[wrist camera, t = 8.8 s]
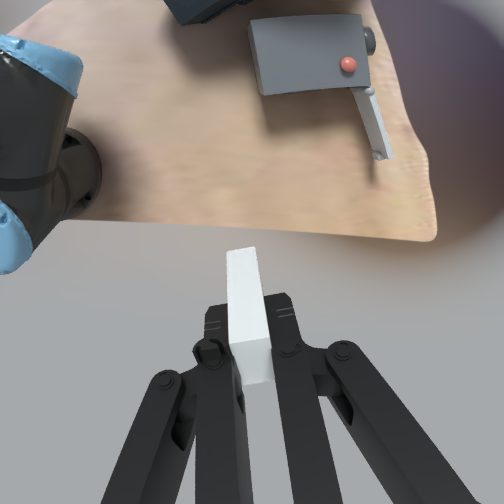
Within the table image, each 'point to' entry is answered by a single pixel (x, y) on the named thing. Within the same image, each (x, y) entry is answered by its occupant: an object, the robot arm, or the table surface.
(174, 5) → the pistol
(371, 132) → the door
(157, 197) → the table surface
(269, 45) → the camera body
